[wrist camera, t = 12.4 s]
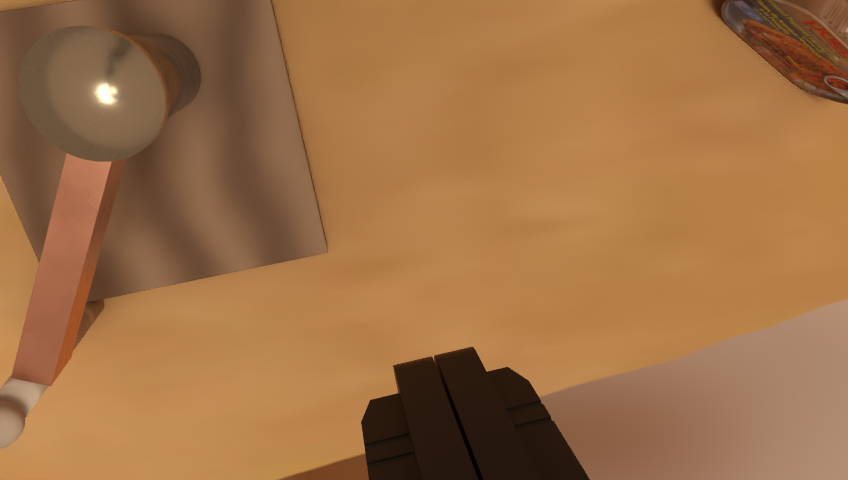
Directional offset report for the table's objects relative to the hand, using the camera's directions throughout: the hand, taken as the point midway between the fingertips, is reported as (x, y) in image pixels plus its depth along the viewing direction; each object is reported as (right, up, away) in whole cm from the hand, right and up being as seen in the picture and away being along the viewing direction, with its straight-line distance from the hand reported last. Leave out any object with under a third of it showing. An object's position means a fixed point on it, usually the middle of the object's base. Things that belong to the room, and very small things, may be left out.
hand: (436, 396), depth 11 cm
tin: (+28, +20, +37) cm, 50 cm away
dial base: (-19, +9, +31) cm, 37 cm away
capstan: (-20, +8, +29) cm, 36 cm away
